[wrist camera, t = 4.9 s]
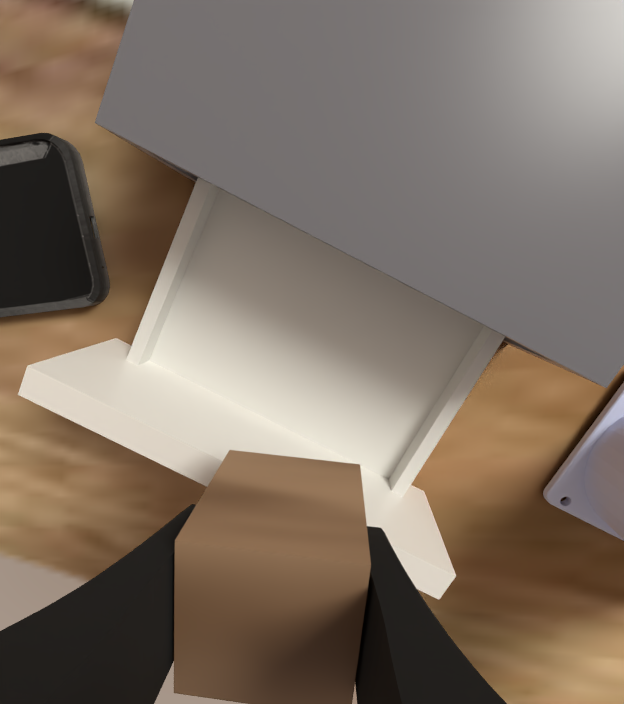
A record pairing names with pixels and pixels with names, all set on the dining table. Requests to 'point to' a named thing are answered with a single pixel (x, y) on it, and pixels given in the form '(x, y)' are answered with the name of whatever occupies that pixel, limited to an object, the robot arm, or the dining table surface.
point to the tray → (281, 368)
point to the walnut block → (272, 582)
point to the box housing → (410, 144)
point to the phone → (47, 229)
